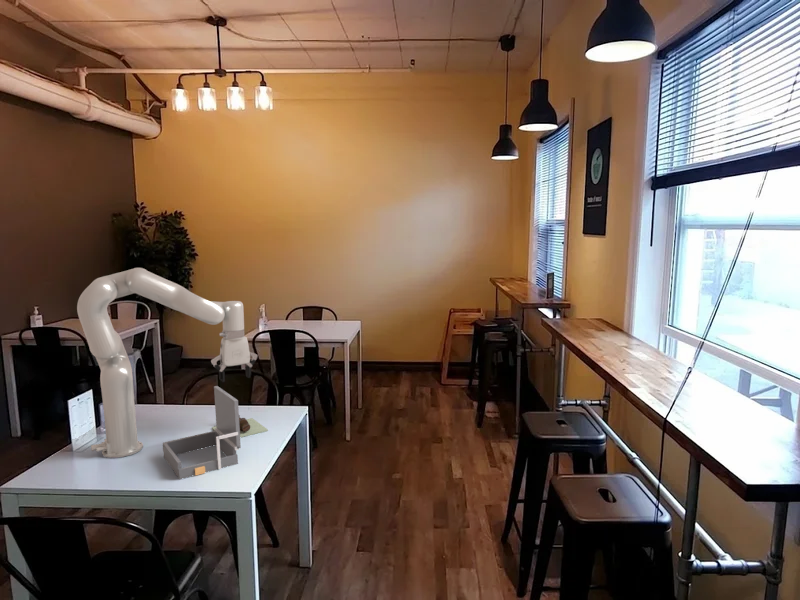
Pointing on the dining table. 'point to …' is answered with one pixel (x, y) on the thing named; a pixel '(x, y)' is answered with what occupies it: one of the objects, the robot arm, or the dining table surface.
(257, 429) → the mat
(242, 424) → the bolt
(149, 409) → the dining table surface
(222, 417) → the case
